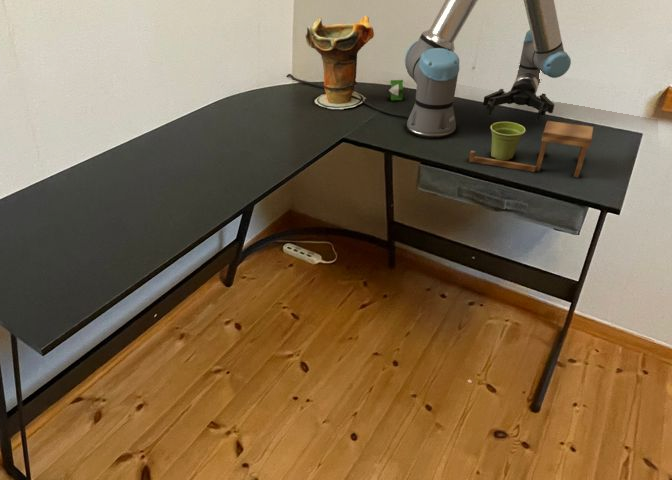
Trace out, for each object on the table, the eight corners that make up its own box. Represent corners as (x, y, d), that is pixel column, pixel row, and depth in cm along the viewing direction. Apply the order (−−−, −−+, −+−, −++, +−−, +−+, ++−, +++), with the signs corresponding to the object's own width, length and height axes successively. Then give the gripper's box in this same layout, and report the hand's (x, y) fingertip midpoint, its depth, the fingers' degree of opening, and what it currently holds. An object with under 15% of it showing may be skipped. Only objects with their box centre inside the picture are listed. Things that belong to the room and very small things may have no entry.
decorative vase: (308, 89, 225) (308, 9, 208) (370, 91, 222) (375, 9, 205) (301, 110, 209) (301, 25, 192) (368, 112, 205) (374, 25, 188)
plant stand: (468, 161, 174) (475, 124, 167) (477, 144, 183) (484, 108, 176) (579, 179, 163) (591, 140, 156) (583, 160, 172) (594, 122, 165)
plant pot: (520, 164, 171) (527, 135, 166) (486, 162, 173) (492, 133, 168) (516, 150, 178) (523, 122, 173) (483, 148, 180) (489, 120, 175)
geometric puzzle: (384, 88, 218) (388, 74, 210) (403, 87, 217) (407, 74, 210) (386, 105, 216) (389, 92, 208) (405, 105, 216) (409, 92, 208)
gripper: (563, 106, 189) (556, 131, 174) (481, 97, 198) (468, 120, 183) (569, 82, 185) (562, 106, 170) (485, 74, 194) (472, 96, 179)
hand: (513, 113), depth 177 cm, fingers open, 13 cm apart
